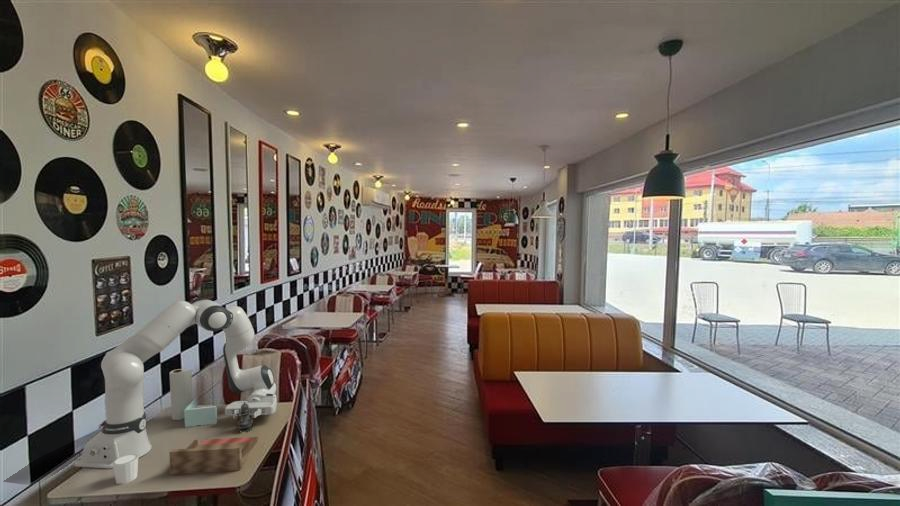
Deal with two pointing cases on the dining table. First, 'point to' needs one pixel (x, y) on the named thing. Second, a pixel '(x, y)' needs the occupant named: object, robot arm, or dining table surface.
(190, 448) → the tray
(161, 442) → the dining table surface
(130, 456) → the white tapered cup
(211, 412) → the l-shaped corner panel
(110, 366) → the robot arm
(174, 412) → the paper towel roll
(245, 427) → the stone chess piece
